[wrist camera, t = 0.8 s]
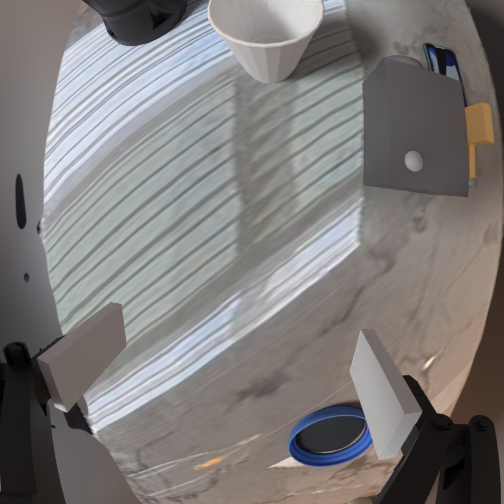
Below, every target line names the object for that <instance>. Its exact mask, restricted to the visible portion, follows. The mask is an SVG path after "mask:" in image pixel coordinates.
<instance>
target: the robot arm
mask: <svg viewBox="0 0 504 504" xmlns="http://www.w3.org/2000/svg"><path fill="white" fill-rule="evenodd" d="M82 1H84V2H85V3H86V4H88V5H89V6H90V7H91V8H93V9H94V10H95V11H96V12H98V13H99V14H100V15H101V16H102V19H103V21H104V24H105V27H106V29H107V32H108V34H109V35H110V36H111V38H113V39H114V40H115V41H116V42H118V43H119V44H122V45H125V46H136V45H141V44H145V43H148V42H150V41H153V40H155V39H157V38H159V37H160V36H162V35H164V34H165V33H166V32H168V31H169V30H170V29H172V28H173V27H174V26H175V25H176V24H177V23H178V21H179V20H180V19H181V18H182V16H183V14H184V12H185V10H186V7H187V0H82ZM126 346H127V343H126V336H125V329H124V321H123V312H122V304H118V303H112V302H110V303H109V304H108V305H106V306H105V307H103V308H102V309H101V310H99V311H98V312H97V313H95V314H94V315H93V316H91V317H90V318H89V319H87V320H86V321H85V322H83V323H82V324H81V325H79V326H78V327H77V328H75V329H74V330H73V331H71V332H70V333H69V334H67V335H64V336H62V337H59V338H57V339H56V340H55V341H53V342H52V343H51V344H49V345H48V346H47V347H46V348H44V349H43V350H41V351H40V352H39V353H38V354H36V355H35V356H34V357H32V358H30V355H29V352H28V349H27V345H25V343H22V342H13V343H10V344H8V345H6V346H5V347H4V349H3V352H4V355H5V358H6V361H7V363H3V362H2V361H1V359H0V479H1V480H0V481H1V492H0V504H66V502H65V499H64V495H63V491H62V487H61V483H60V479H59V474H58V469H57V464H56V459H55V453H54V446H53V439H52V430H51V421H50V409H49V405H48V403H47V401H48V400H49V399H50V398H52V401H53V403H54V405H55V407H56V408H59V409H60V410H62V411H64V412H68V411H69V410H70V409H71V408H72V406H73V405H74V404H75V403H76V402H77V401H78V399H79V398H80V397H81V396H82V395H83V394H84V393H85V392H86V390H87V389H88V388H89V387H90V386H91V385H92V384H93V382H94V381H95V380H96V379H97V378H98V377H99V376H100V375H101V374H102V372H103V371H104V370H105V369H106V368H107V367H108V366H109V365H110V363H111V362H112V361H113V360H114V359H115V358H116V357H117V356H118V355H119V354H120V352H121V351H122V350H123V349H124V348H125V347H126ZM350 374H351V377H352V380H353V382H354V385H355V388H356V391H357V394H358V397H359V400H360V403H361V406H362V409H363V412H364V415H365V418H366V421H367V424H368V427H369V430H370V434H371V437H372V440H373V443H374V446H375V450H376V453H377V456H378V460H383V459H389V458H395V457H396V455H397V454H398V452H399V451H400V449H401V450H402V453H403V455H404V456H403V457H402V458H401V460H400V461H399V463H398V464H397V466H396V467H395V468H394V472H393V473H392V475H391V477H390V478H389V480H388V481H387V483H386V484H385V486H384V487H383V489H382V490H381V492H380V493H379V495H378V496H377V498H376V499H375V501H374V502H373V503H372V504H424V503H425V502H426V500H427V497H428V495H429V493H430V491H431V489H432V487H433V484H434V482H435V480H436V478H437V475H438V473H439V470H440V476H439V483H438V490H437V497H436V503H435V504H501V483H500V467H499V456H498V447H497V440H496V433H495V427H494V424H493V422H492V421H491V420H490V419H489V418H488V417H486V416H482V415H476V416H474V417H472V418H471V420H470V421H469V423H468V424H454V423H453V421H452V420H451V419H450V418H449V417H448V416H446V415H444V414H439V413H436V411H435V409H434V408H433V406H432V404H431V403H430V401H429V400H428V398H427V396H426V395H425V393H424V391H423V390H422V389H421V387H420V385H419V383H418V382H417V381H416V380H415V379H414V378H412V377H411V376H410V375H403V376H402V375H401V373H400V371H399V370H398V368H397V366H396V365H395V363H394V361H393V360H392V358H391V356H390V355H389V353H388V352H387V350H386V348H385V347H384V345H383V343H382V342H381V340H380V339H379V337H378V336H377V334H376V332H375V331H374V329H361V330H360V334H359V338H358V342H357V346H356V350H355V353H354V357H353V361H352V364H351V368H350Z"/></svg>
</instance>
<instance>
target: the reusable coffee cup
mask: <svg viewBox="0 0 504 504" xmlns="http://www.w3.org/2000/svg"><path fill="white" fill-rule="evenodd" d="M347 504H372V501H371V499H369V498H361V499H357V500H354V501H351V502H349V503H347Z"/></svg>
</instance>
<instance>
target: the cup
mask: <svg viewBox="0 0 504 504" xmlns="http://www.w3.org/2000/svg"><path fill="white" fill-rule="evenodd" d="M207 9H208V19H209V21H210V23H211V25H212V27H213V28H214V29H215V30H216V31H217V32H218V33H219V35H220V36H221V37H222V39H223V40H224V41H225V43H226V44H227V45H228V47H229V48H230V49H231V51H232V52H233V53H234V55H235V56H236V57H237V59H238V60H239V62H240V63H241V64H242V66H243V67H244V69H245V70H246V71H247V72H248V73H249V74H251V75H252V77H253V78H255V79H256V80H258V81H261V82H263V83H277V82H280V81H283V80H284V79H286V78H287V77H288V76H289V75H290V74H291V72H292V71H293V70H294V69H295V68H296V66H297V64H298V62H299V60H300V58H301V57H302V55H303V53H304V51H305V49H306V47H307V46H308V44H309V42H310V40H311V38H312V37H313V35H314V33H315V31H316V30H317V29H318V28H319V26H320V24H321V22H322V21H323V19H324V5H323V2H322V0H210V2H209V5H208V7H207Z"/></svg>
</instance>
